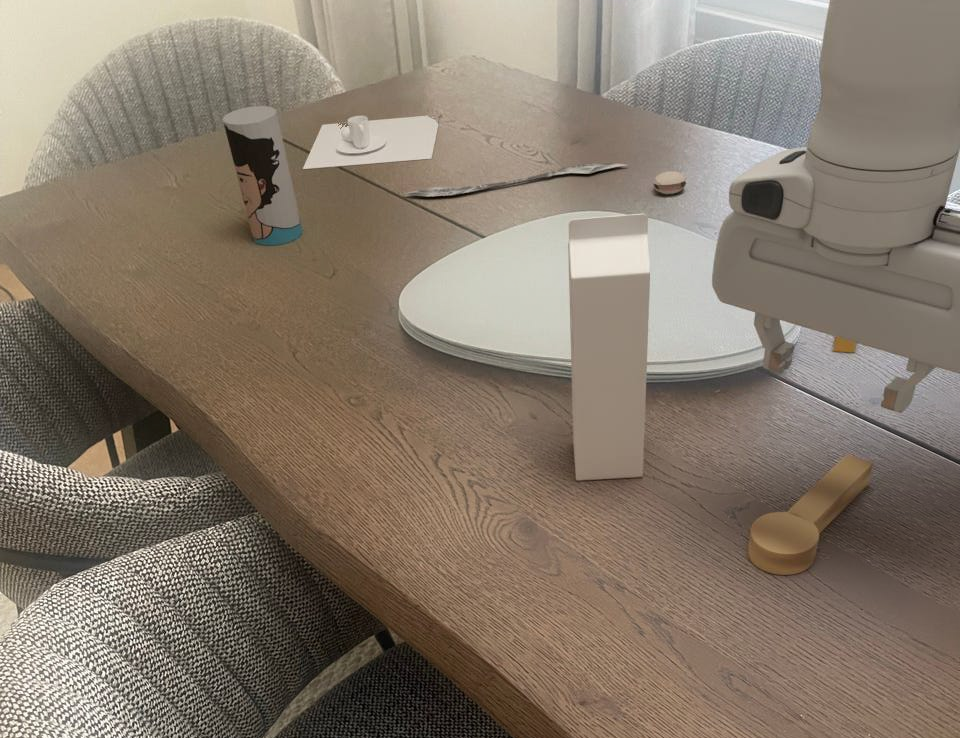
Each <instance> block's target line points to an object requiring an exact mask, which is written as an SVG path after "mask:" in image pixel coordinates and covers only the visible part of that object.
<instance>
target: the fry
mask: <svg viewBox="0 0 960 738" xmlns="http://www.w3.org/2000/svg"><path fill="white" fill-rule="evenodd" d="M856 345H857V343H855V342H852V341H849V340H845V339H842V338H839V337H835V336H834V343H833V352H837V353H839V352H840V353H852V354H853V353H855V351H856Z"/></svg>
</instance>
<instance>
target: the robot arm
mask: <svg viewBox="0 0 960 738" xmlns="http://www.w3.org/2000/svg"><path fill="white" fill-rule="evenodd" d="M827 7H828V8H827V14H826V18H825V25H824V30H823V35H822V41H821V49H820V55H819V63H818V64H819V65H818V72H819V80H820V101H819V107H818V111H817V114H816V116H815V119H814V121H813V124H812V126H811V127H810V131H809V134H808V138H807V144H806V146H801V147H794V148H789V149H785V150H784V149H783V150H782V151H780V152H778V153H776V154H773V155H771V156H769V157H768V158H765V159H764V160H761V161H759V162H757V163H756V164H754V165H753V166H752V167H750V168H748V169H747V170H746V171H744V172H743V173H742V174H740V175H739V176H737V177H736V178H735V179H734V180H733V181H732V182H731V183H730V185H729V190H728V204H729V207H730V208H731V210H732V211H731V212H730V213H728V215H727V216H726V217H725V219H724V220H723V222H722V223H721V226H720V229H719V232H718V237H717V241H716V246H715V252H714V258H713V265H712V274H711V275H712V276H711V286H712V289H713V291H714V293H715V295H716V297H717V299H718V301H719V302H720V303H722V304H726V305H729V306H733V307H736V308H739V309H743V310H745V311H749V312H752V313H754V319H753V326H754V329H755V331H756V333H757V336H758V338H759V341H760V343H761V345H762V348H763V349H764V353H763V361H762V368H763V369H766V370H769V371H771V372H774V373H777V374H783V373H784V371H785V370H788V369H789V368H790V367H791V365H792V362H793V355H792V354H793V353H794V352H795V343H791V342H789V341H786V339H785V335H784V332H783V329H782V324H781V322H780V321H783V322H786V323H789V324H791V325H796V326H798V327H802V328H805V329H809V330H812V331H815V332H819V333H823V334H825V335H829V336H833V337H834V338H835V337H839V338H842V339H845V340H849V341H852V342H855V343H856V344H859V345H863V346H866V347H870V348H873V349H876V350H879V351H882V352H885V353H888V354H892V355H896V356H899V357H902V358H906V359H907V364H906V367H905V370H906V372H909V373H912V375H911V376H909V377H908V378H904V377H900V376H895V378H894V379H892V381H891V382H888V384H887V385H886V386H885V387H884V390H883V394H882V396H883V399H882V400H881V402H880V407H881V408H883V409H886V410H889V411H893V412H895V413H899V414H903V413H904V412H905V411H906V410H907V409H908V408H909V407H910V405H911V403H912V401H913V397H914V394H915V390H916V387H917V385H918V384H920V383H921V382H922V381H923V380H924V379H925V378H926V377H927V376H928V375H930V373H931V372H932V371H933V370H935V369H936V368H938V369H942V370H945V371H948V372H952V373H955V374H958V375H960V210H956V209H953V208H947V207H946V206H947V205H946V204H947V202H948V198H949V195H950V189H951V185H952V181H953V178H954V173H955V170H956V166H957V162H958V158H959V154H960V0H829V2H828V6H827Z"/></svg>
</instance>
